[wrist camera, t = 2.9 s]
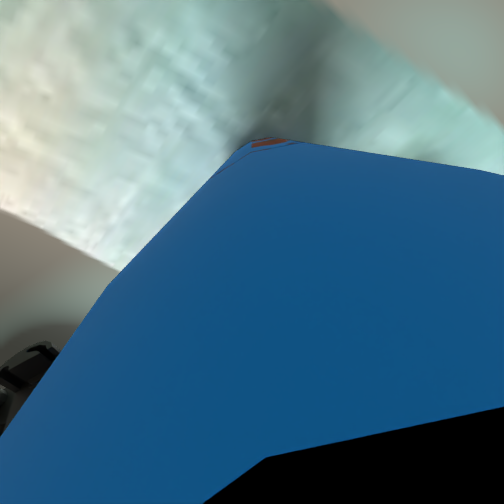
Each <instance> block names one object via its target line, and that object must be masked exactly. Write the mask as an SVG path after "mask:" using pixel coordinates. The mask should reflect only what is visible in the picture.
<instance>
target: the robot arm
mask: <svg viewBox="0 0 504 504" xmlns="http://www.w3.org/2000/svg"><path fill="white" fill-rule="evenodd" d="M60 352H61V350H60V349H58V348H57V347H56V346H55V345H54V344H53V343H51V342H48V341H43V342H39V343H36V344H33V345H31V346H29V347H27V348H25V349H24V350H22V351H20V352H18V353H17V354H15V355H14V356H13V357H11V358H10V359H9V360H7V361H6V362H5V363H4V364H3V365H2V366H1V367H0V384H1V385H2V386H4V387H6V388H5V389H1V388H0V437H1V435H2V434H3V433H4V431H5V430H6V428H7V427H8V425H9V424H10V423H11V421H12V420H13V418H14V417H15V416H16V414H17V413H18V411H19V410H20V409H21V407H22V406H23V404H24V403H25V401H26V400H27V399H28V397H29V396H30V394H31V393H32V392H33V390H34V389H35V387H36V386H37V385H38V383H39V382H40V380H41V379H42V377H43V376H44V375H45V373H46V372H47V370H48V369H49V368H50V366H51V365H52V363H53V362H54V361H55V359H56V358H57V356H58V355H59V353H60Z"/></svg>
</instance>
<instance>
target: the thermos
mask: <svg viewBox="0 0 504 504" xmlns="http://www.w3.org/2000/svg"><path fill="white" fill-rule="evenodd" d="M0 504H504V175H499V174H495V173H491V172H486V171H482V170H476V169H470V168H464V167H457V166H451V165H445V164H438V163H432V162H426V161H419V160H413V159H406V158H400V157H394V156H387V155H381V154H375V153H368V152H362V151H356V150H349V149H343V148H336V147H330V146H324V145H317V144H311V143H305V142H298V141H292V140H286V139H279V138H273V137H270V138H264V139H259V140H254V141H251V142H249V143H248V144H246V145H245V146H243V147H242V148H240V149H239V150H237V151H236V152H234V153H233V154H232V155H231V157H230V158H229V159H228V160H227V161H226V162H225V163H224V164H223V165H222V166H221V167H220V168H219V169H218V170H217V171H216V172H215V173H214V174H213V175H212V176H211V178H210V179H209V180H208V181H207V182H206V183H205V184H204V185H203V186H202V187H201V188H200V189H199V190H198V191H197V192H196V193H195V194H194V195H193V196H192V197H191V199H190V200H189V201H188V202H187V203H186V204H185V205H184V206H183V207H182V208H181V209H180V210H179V211H178V212H177V213H176V214H175V215H174V216H173V217H172V218H171V220H170V221H169V222H168V223H167V224H166V225H165V226H164V227H163V228H162V229H161V230H160V231H159V232H158V233H157V234H156V235H155V236H154V237H153V238H152V239H151V241H150V242H149V243H148V244H147V245H146V246H145V247H144V248H143V249H142V250H141V251H140V252H139V253H138V254H137V255H136V256H135V257H134V258H133V259H132V260H131V262H130V263H129V264H128V265H127V266H126V267H125V268H124V269H123V270H122V271H121V272H120V273H119V274H118V275H117V276H116V277H115V278H114V279H113V280H112V281H111V283H110V284H109V285H108V286H107V287H106V289H105V290H104V291H103V293H102V294H101V296H100V297H99V298H98V300H97V301H96V303H95V304H94V305H93V307H92V308H91V310H90V311H89V313H88V314H87V315H86V317H85V318H84V320H83V321H82V323H81V324H80V325H79V327H78V328H77V329H76V331H75V332H74V334H73V335H72V337H71V338H70V339H69V341H68V342H67V344H66V345H65V347H64V348H63V349H62V351H61V352H60V353H59V355H58V356H57V358H56V359H55V361H54V362H53V363H52V365H51V366H50V368H49V369H48V370H47V372H46V373H45V375H44V376H43V377H42V379H41V380H40V382H39V383H38V385H37V386H36V387H35V389H34V390H33V392H32V393H31V394H30V396H29V397H28V399H27V400H26V401H25V403H24V404H23V406H22V407H21V409H20V410H19V411H18V413H17V414H16V416H15V417H14V418H13V420H12V421H11V423H10V424H9V425H8V427H7V428H6V430H5V431H4V433H3V434H2V435H1V437H0Z"/></svg>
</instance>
